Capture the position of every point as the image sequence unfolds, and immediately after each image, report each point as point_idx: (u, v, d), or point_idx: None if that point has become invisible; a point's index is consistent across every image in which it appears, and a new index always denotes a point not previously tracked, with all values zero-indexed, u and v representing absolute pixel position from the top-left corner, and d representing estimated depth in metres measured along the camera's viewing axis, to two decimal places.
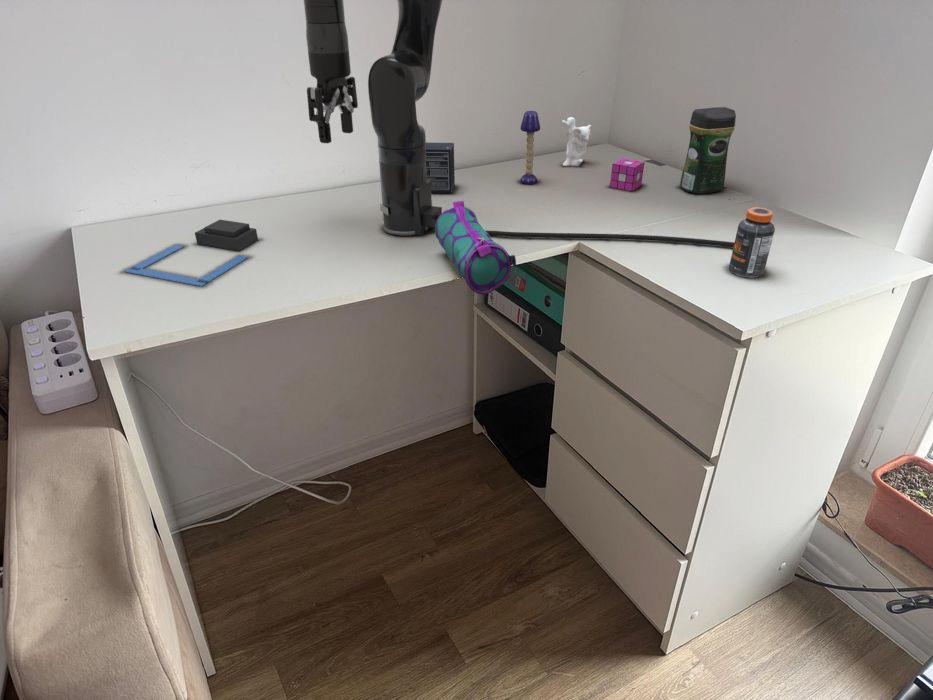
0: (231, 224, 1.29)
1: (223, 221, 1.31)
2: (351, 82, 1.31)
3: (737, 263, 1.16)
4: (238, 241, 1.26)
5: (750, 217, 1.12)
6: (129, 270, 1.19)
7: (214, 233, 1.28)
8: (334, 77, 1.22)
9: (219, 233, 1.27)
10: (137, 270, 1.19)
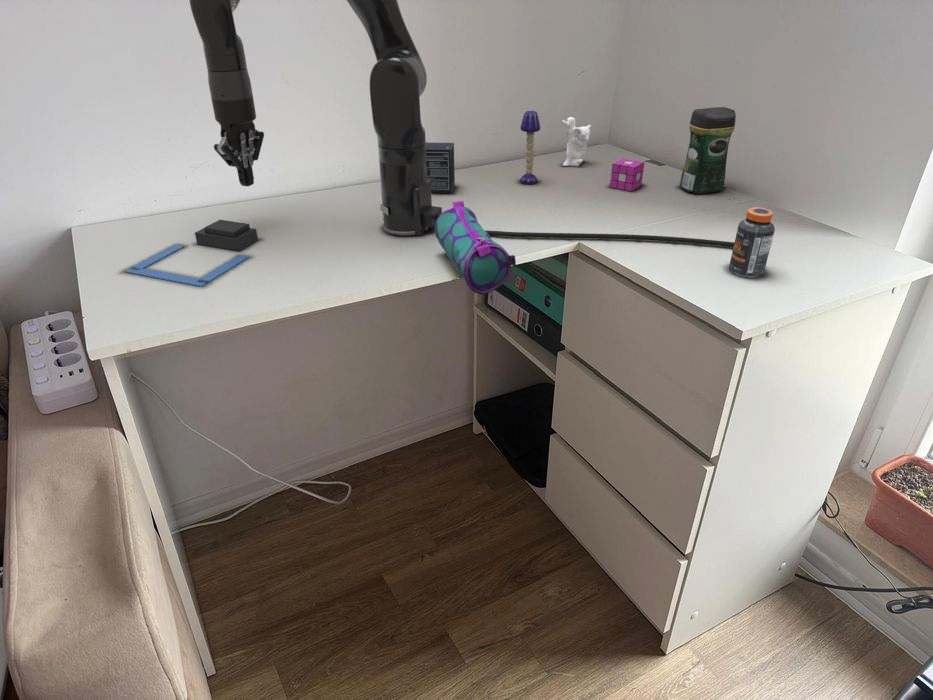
0: (231, 224, 1.29)
1: (223, 221, 1.31)
2: (259, 134, 1.32)
3: (737, 263, 1.16)
4: (238, 241, 1.26)
5: (750, 217, 1.12)
6: (129, 270, 1.19)
7: (214, 233, 1.28)
8: (237, 123, 1.24)
9: (219, 233, 1.27)
10: (137, 270, 1.19)
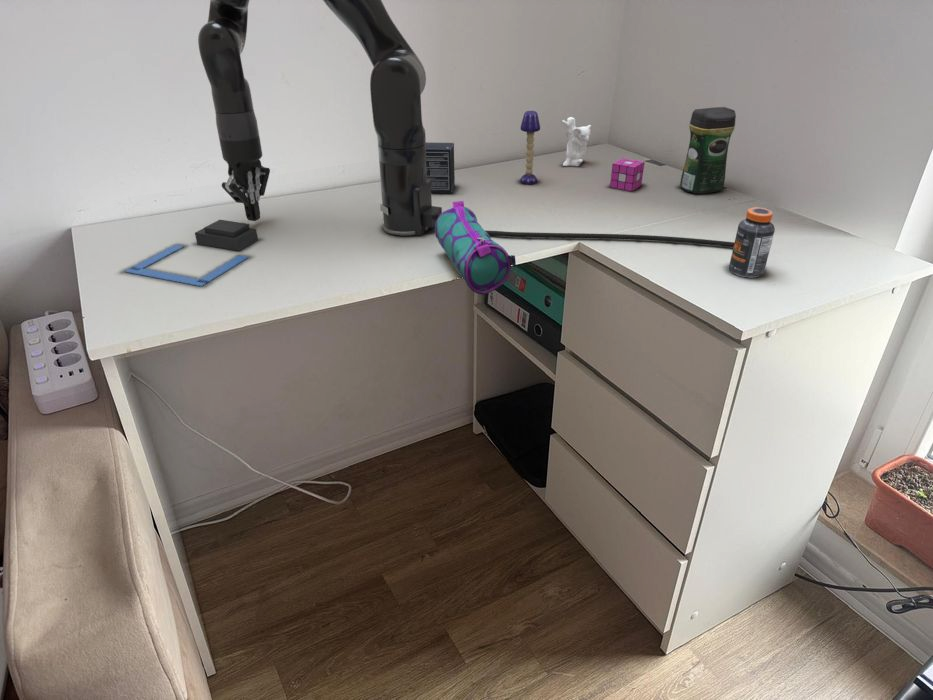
0: (231, 224, 1.29)
1: (223, 221, 1.31)
2: (265, 171, 1.36)
3: (737, 263, 1.16)
4: (238, 241, 1.26)
5: (750, 217, 1.12)
6: (129, 270, 1.19)
7: (214, 233, 1.28)
8: (244, 162, 1.28)
9: (219, 233, 1.27)
10: (137, 270, 1.19)
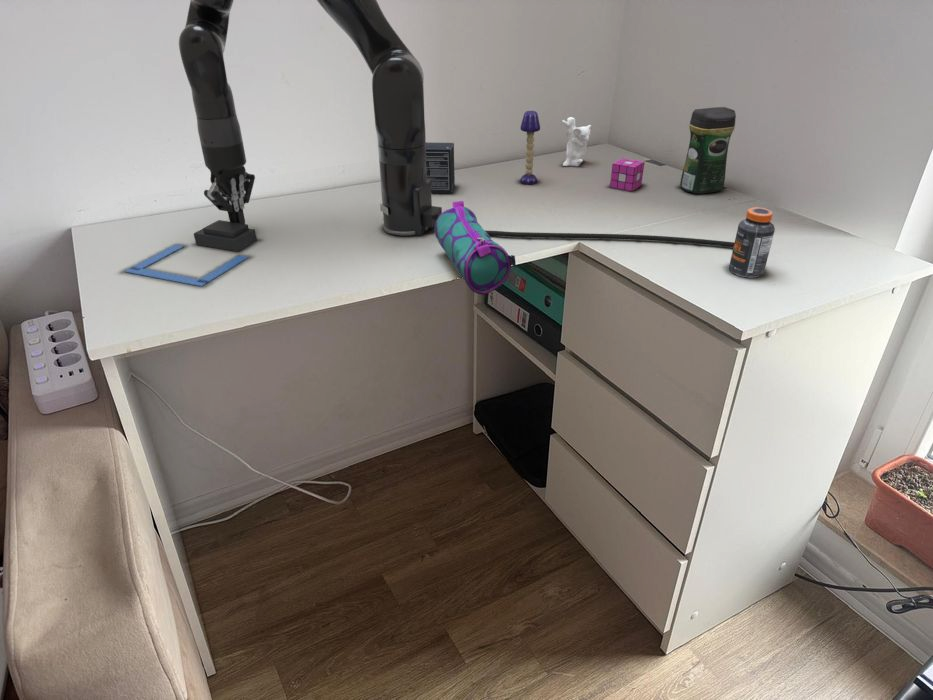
0: (230, 224, 1.29)
1: (222, 222, 1.30)
2: (250, 177, 1.32)
3: (737, 263, 1.16)
4: (237, 241, 1.26)
5: (750, 217, 1.12)
6: (129, 270, 1.19)
7: (213, 234, 1.27)
8: (227, 169, 1.24)
9: (218, 234, 1.27)
10: (137, 270, 1.19)
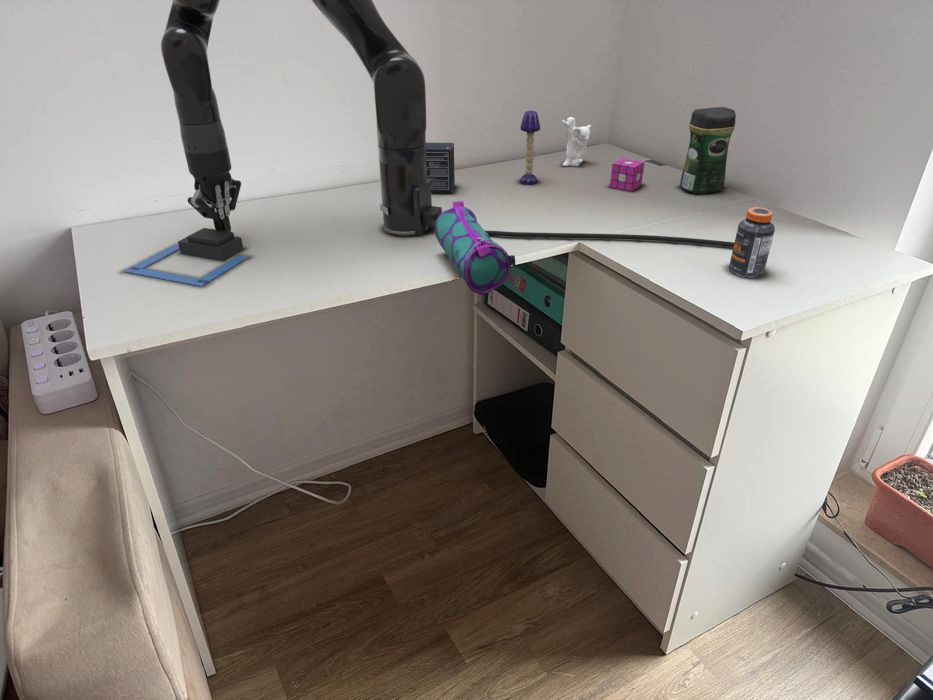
0: (216, 232, 1.26)
1: (207, 229, 1.27)
2: (236, 184, 1.29)
3: (737, 263, 1.16)
4: (222, 250, 1.22)
5: (750, 217, 1.12)
6: (129, 270, 1.19)
7: (197, 242, 1.24)
8: (211, 175, 1.20)
9: (203, 242, 1.23)
10: (137, 270, 1.19)
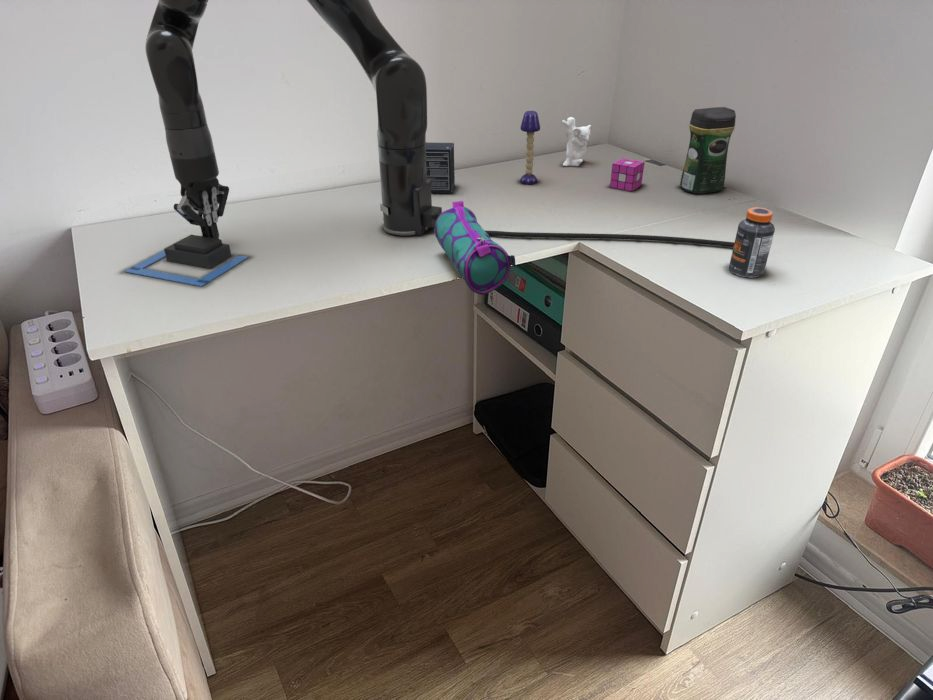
0: (203, 239, 1.23)
1: (194, 236, 1.24)
2: (224, 189, 1.26)
3: (737, 263, 1.16)
4: (209, 258, 1.19)
5: (750, 217, 1.12)
6: (129, 270, 1.19)
7: (184, 249, 1.21)
8: (198, 181, 1.17)
9: (189, 249, 1.21)
10: (137, 270, 1.19)
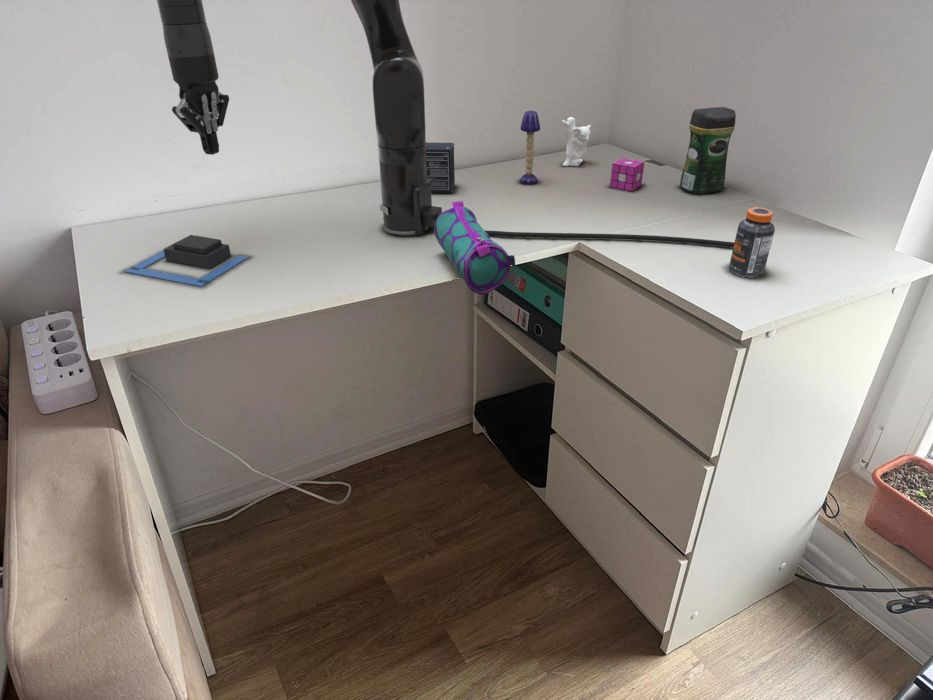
0: (202, 240, 1.23)
1: (194, 237, 1.24)
2: (223, 98, 1.22)
3: (737, 263, 1.16)
4: (208, 258, 1.19)
5: (750, 217, 1.12)
6: (129, 270, 1.19)
7: (184, 250, 1.21)
8: (197, 82, 1.13)
9: (189, 250, 1.20)
10: (137, 270, 1.19)
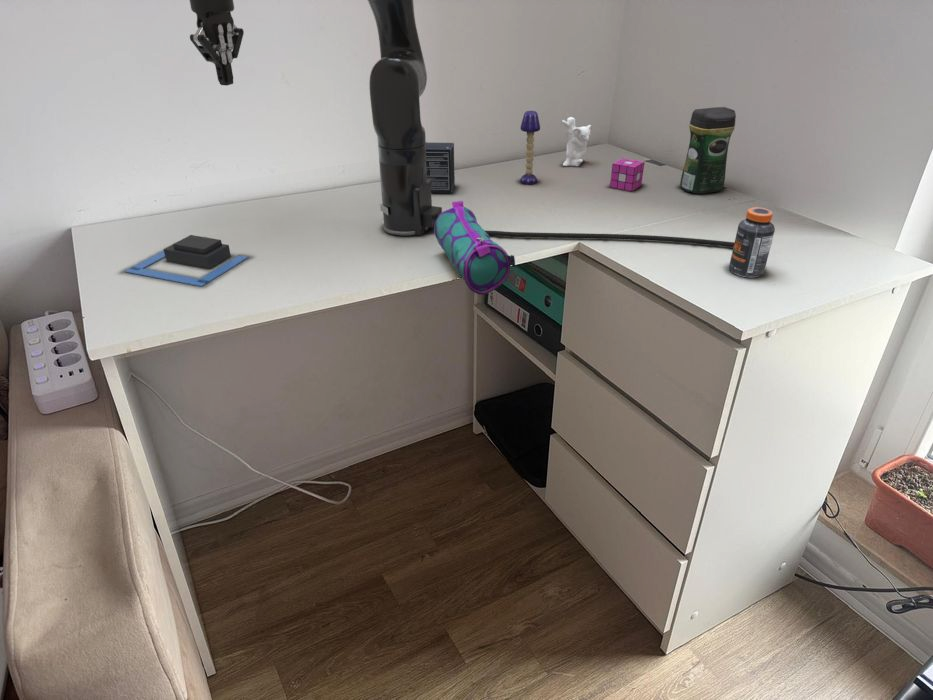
0: (202, 240, 1.23)
1: (194, 237, 1.24)
2: (238, 31, 1.27)
3: (737, 263, 1.16)
4: (208, 258, 1.19)
5: (750, 217, 1.12)
6: (129, 270, 1.19)
7: (184, 250, 1.21)
8: (214, 11, 1.19)
9: (189, 250, 1.20)
10: (137, 270, 1.19)
